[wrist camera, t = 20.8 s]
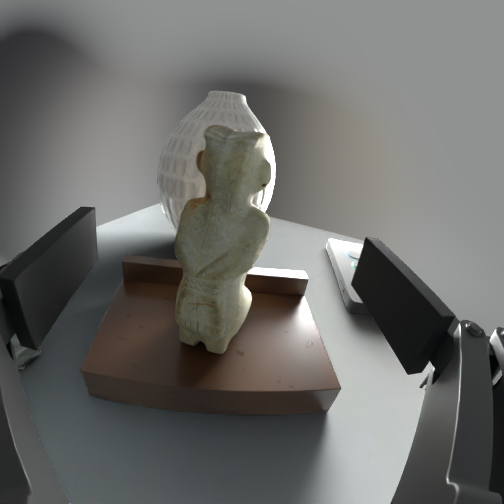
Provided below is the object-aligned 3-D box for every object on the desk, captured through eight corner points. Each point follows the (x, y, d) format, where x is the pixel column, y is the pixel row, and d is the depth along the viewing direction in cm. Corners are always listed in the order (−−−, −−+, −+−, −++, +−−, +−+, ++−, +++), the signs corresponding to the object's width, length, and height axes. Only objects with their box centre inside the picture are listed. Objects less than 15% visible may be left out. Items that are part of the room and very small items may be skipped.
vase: (274, 241, 49) (299, 107, 40) (235, 284, 35) (266, 88, 26) (190, 218, 53) (205, 96, 44) (132, 247, 39) (141, 85, 30)
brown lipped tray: (294, 310, 32) (305, 271, 30) (328, 411, 20) (351, 370, 17) (129, 296, 29) (126, 254, 27) (89, 396, 17) (72, 349, 15)
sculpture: (260, 316, 25) (295, 135, 19) (231, 373, 19) (270, 133, 12) (199, 297, 26) (216, 124, 20) (157, 344, 20) (161, 121, 14)
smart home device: (369, 245, 50) (410, 308, 32) (366, 253, 51) (404, 319, 33) (326, 236, 50) (350, 299, 32) (324, 245, 51) (346, 312, 33)
